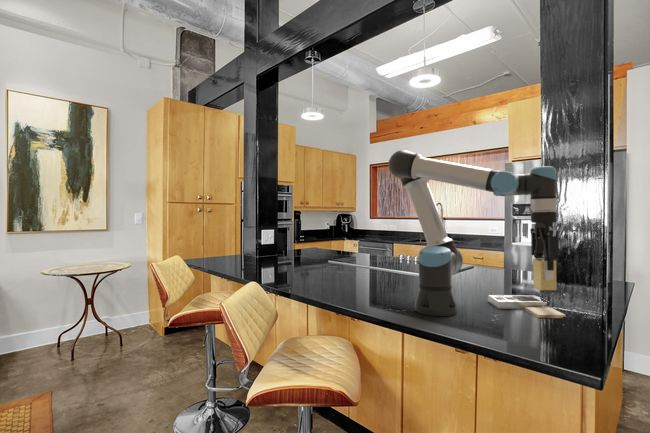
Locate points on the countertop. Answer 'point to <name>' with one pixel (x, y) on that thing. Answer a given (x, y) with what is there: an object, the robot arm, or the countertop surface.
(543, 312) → the coaster
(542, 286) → the block
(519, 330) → the countertop surface
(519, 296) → the white recessed slab
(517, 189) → the robot arm
